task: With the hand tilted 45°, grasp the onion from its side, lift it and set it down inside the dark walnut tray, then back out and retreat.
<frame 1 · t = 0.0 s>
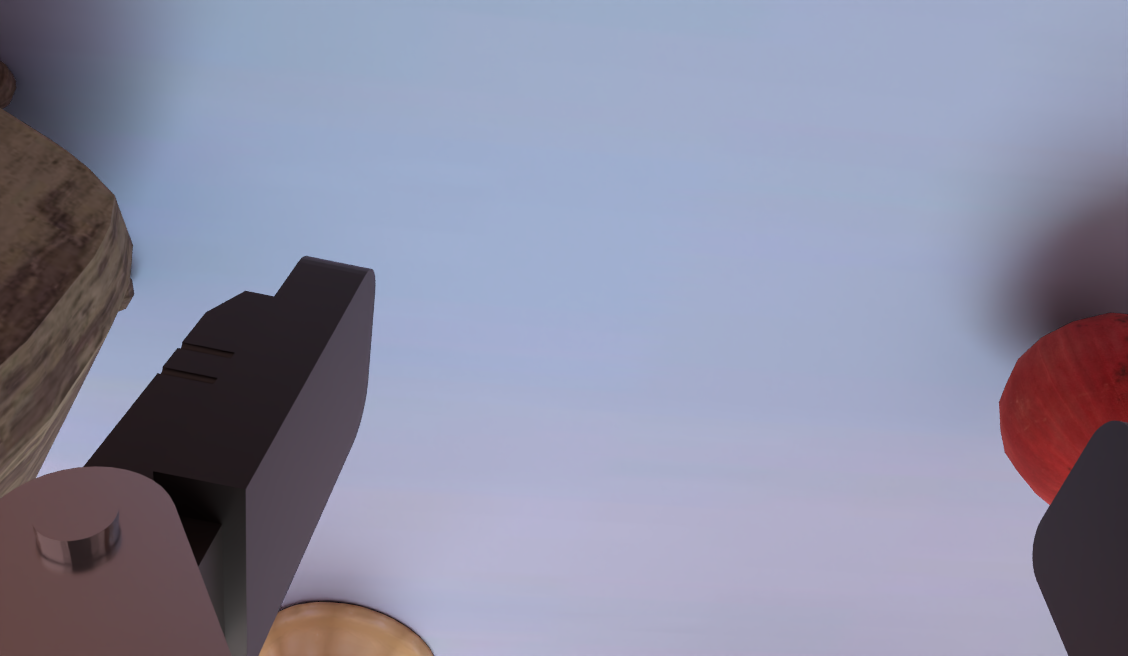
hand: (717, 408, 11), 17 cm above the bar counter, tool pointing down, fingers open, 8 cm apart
hand bell: (349, 655, 44), on the bar counter
onion: (1071, 336, 30), on the bar counter
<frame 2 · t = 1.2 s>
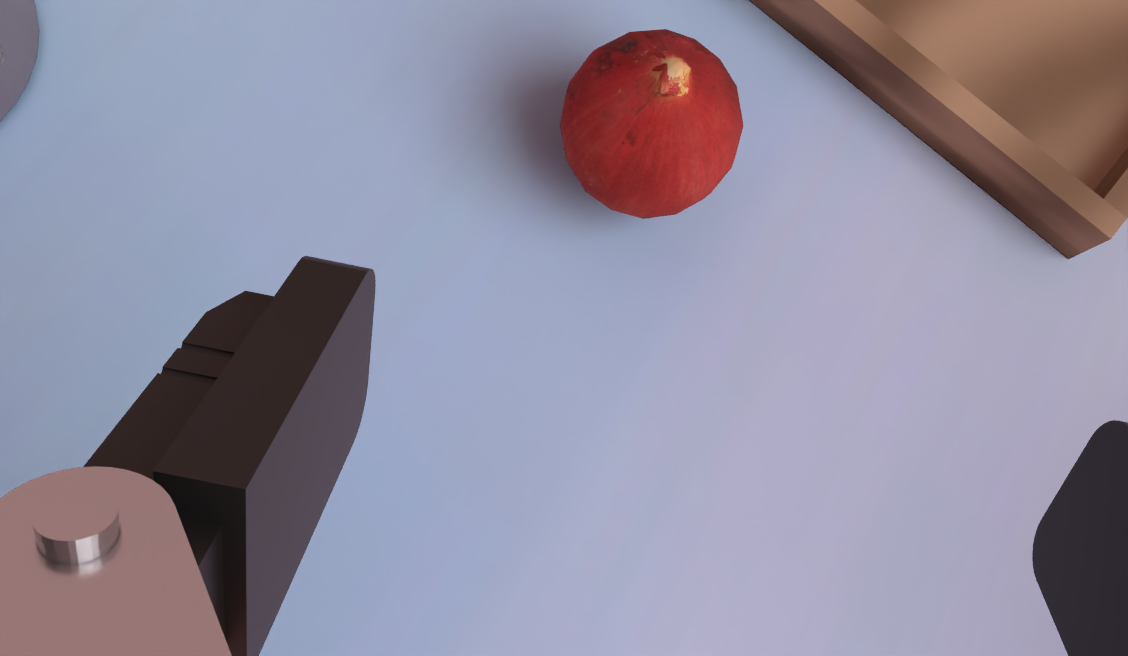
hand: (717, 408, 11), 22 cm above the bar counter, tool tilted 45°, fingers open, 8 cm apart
onion: (634, 168, 35), on the bar counter
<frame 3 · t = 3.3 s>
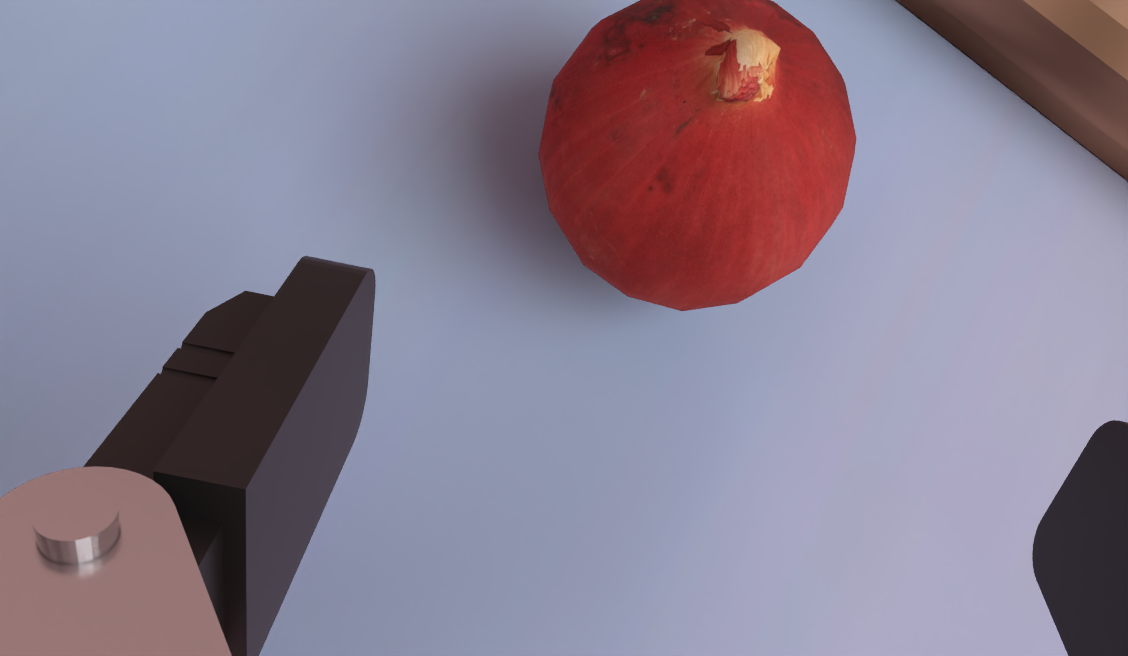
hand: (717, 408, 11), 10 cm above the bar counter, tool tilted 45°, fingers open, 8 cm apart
onion: (661, 218, 22), on the bar counter
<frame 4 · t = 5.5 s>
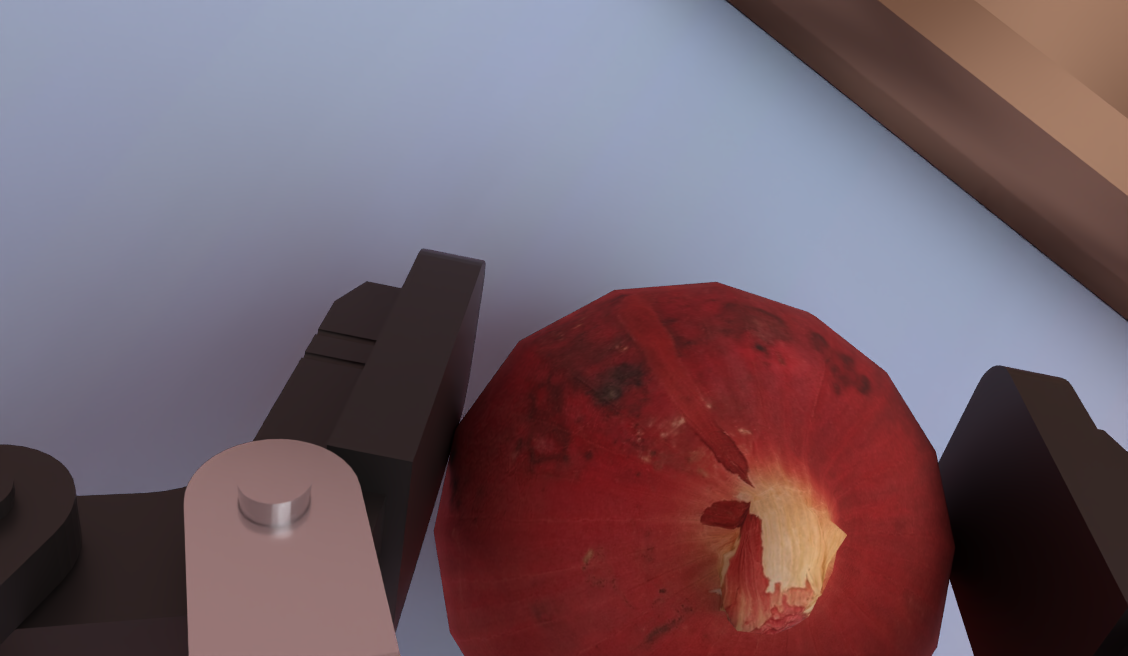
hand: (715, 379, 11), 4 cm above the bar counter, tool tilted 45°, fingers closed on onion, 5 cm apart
onion: (640, 532, 15), on the bar counter, touching gripper
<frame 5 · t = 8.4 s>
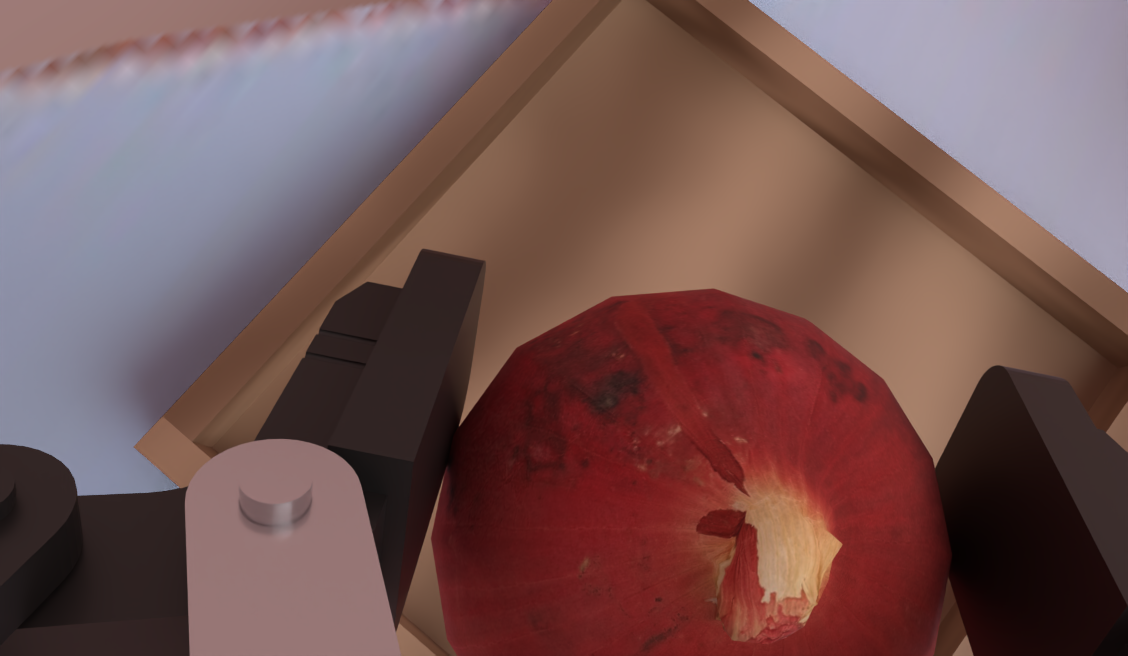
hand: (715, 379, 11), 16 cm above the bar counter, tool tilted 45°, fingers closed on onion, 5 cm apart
walnut tray: (676, 409, 28), on the bar counter
onion: (638, 537, 15), point 12 cm above the bar counter, touching gripper
when the fingers open (7 cm above the bar counter, at t = 11.1 s): onion drops 1 cm, resting on walnut tray.
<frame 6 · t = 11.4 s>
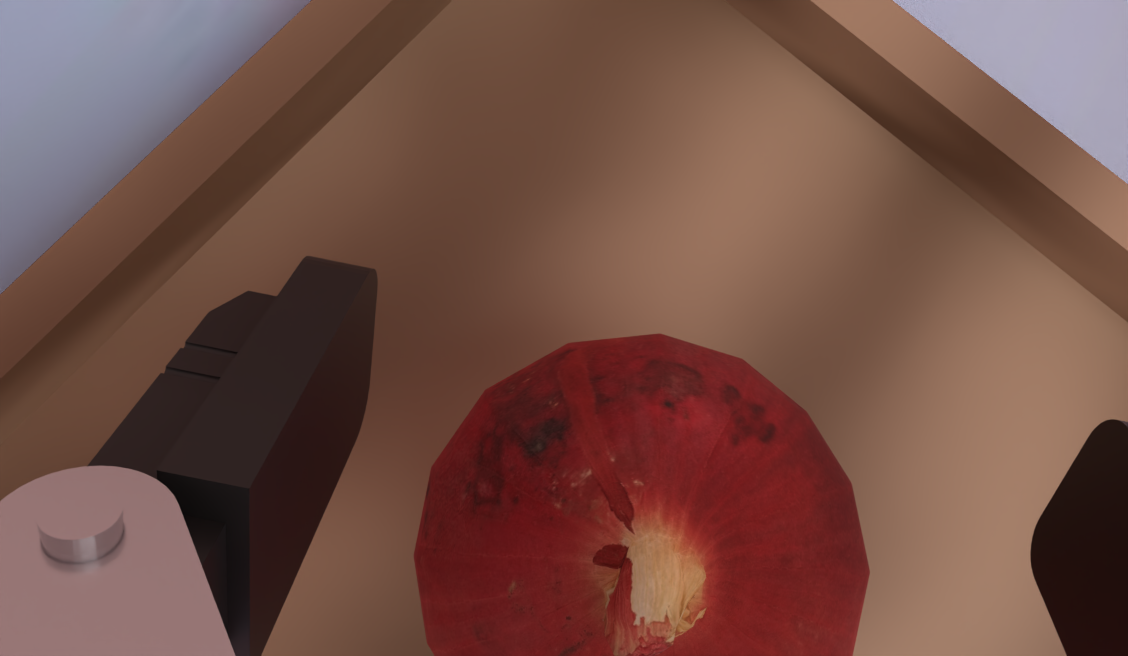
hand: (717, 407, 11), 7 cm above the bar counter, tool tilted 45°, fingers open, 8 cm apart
walnut tray: (623, 533, 17), on the bar counter
onion: (631, 546, 17), point 1 cm above the bar counter, touching walnut tray
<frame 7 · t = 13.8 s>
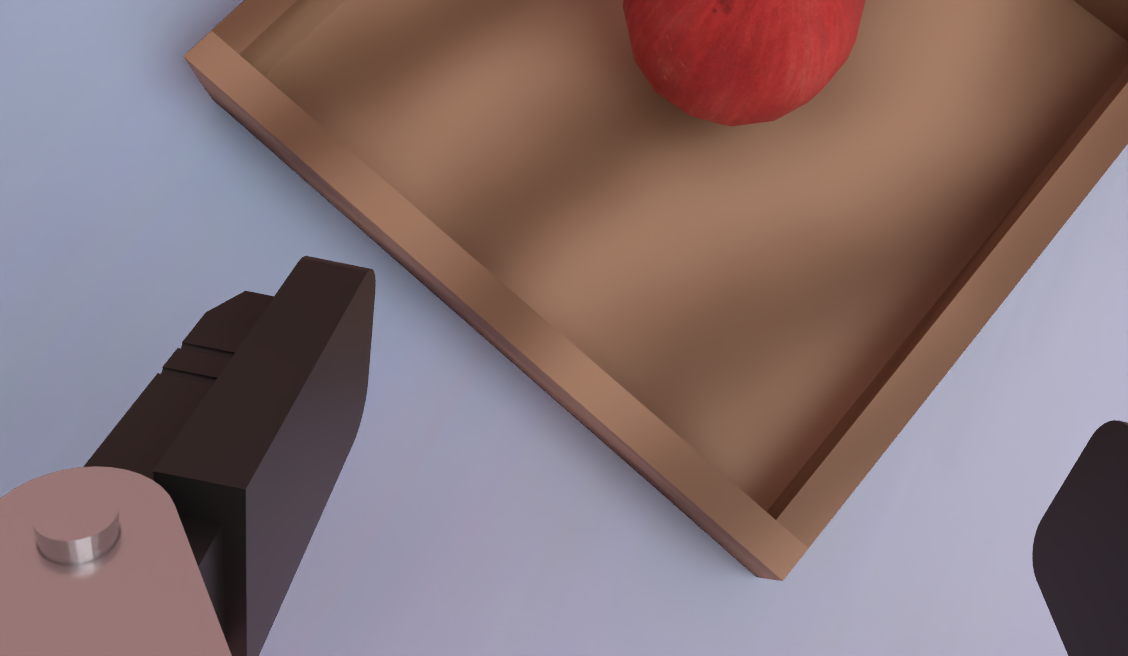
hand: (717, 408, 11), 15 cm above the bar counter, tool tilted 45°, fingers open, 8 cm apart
walnut tray: (704, 80, 28), on the bar counter
onion: (710, 77, 28), point 1 cm above the bar counter, touching walnut tray
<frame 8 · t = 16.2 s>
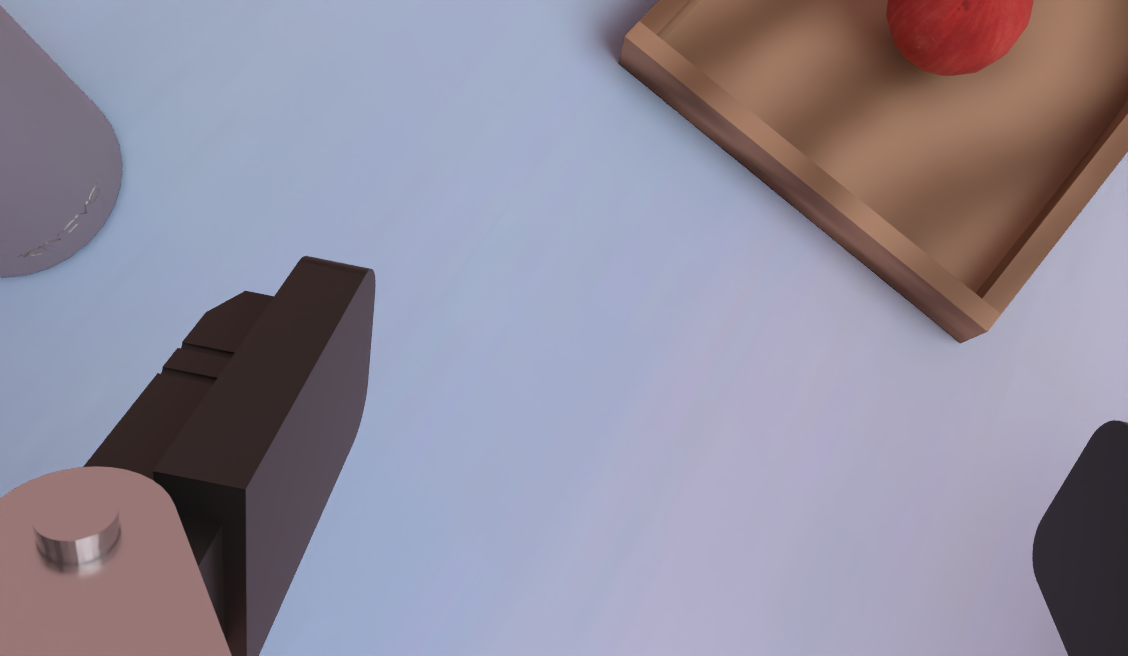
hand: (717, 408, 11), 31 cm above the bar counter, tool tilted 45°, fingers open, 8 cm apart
walnut tray: (914, 51, 46), on the bar counter
onion: (920, 49, 45), point 1 cm above the bar counter, touching walnut tray
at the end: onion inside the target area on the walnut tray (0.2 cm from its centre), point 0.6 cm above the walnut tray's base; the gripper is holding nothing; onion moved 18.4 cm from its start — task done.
